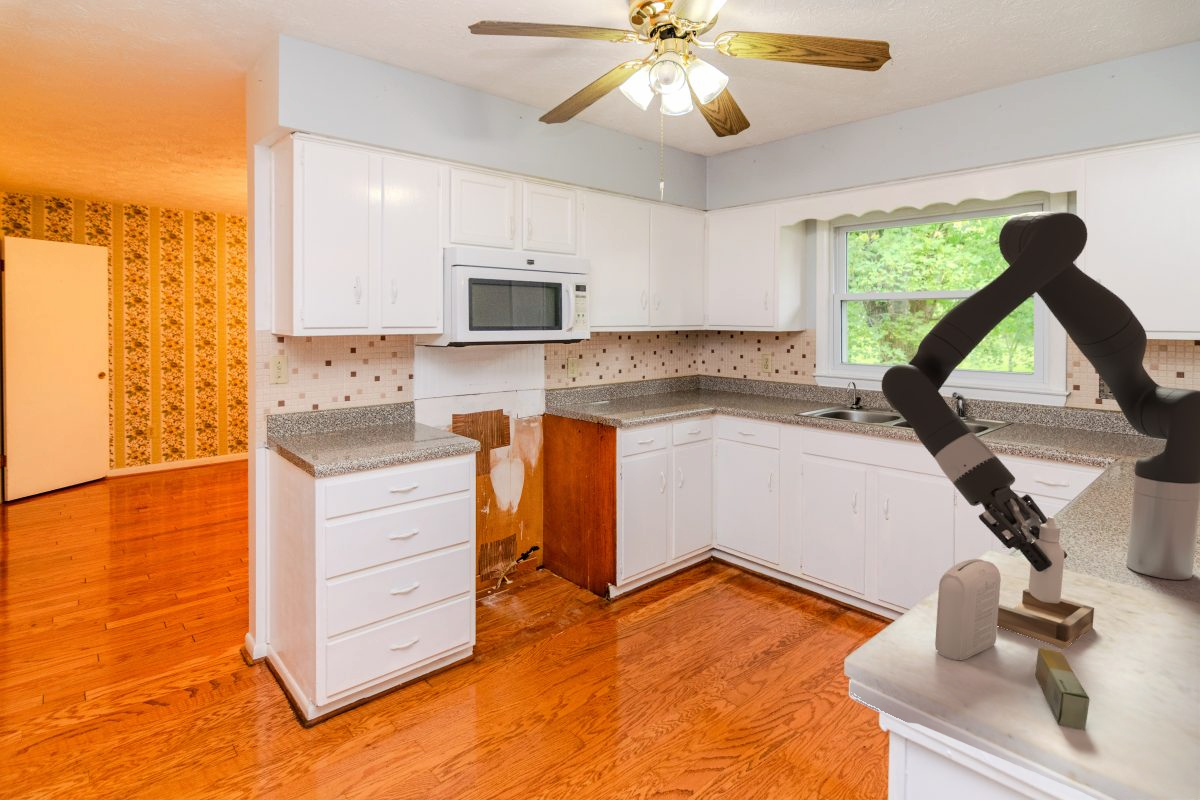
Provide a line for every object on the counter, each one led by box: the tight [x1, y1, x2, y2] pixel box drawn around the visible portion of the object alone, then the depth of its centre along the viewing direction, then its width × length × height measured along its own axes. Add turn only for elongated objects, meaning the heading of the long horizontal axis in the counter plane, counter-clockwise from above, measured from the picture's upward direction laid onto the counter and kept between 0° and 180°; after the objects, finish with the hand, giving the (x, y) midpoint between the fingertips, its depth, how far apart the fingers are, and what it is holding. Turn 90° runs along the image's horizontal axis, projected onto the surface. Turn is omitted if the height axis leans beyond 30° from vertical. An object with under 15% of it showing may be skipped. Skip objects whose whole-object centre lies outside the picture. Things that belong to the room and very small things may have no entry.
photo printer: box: [934, 558, 1002, 661], centre depth 91 cm, size 10×4×12 cm, turn 123°
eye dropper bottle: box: [1028, 516, 1065, 603], centre depth 98 cm, size 4×6×12 cm
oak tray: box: [997, 588, 1095, 650], centre depth 99 cm, size 11×9×3 cm
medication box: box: [1034, 647, 1091, 731], centre depth 79 cm, size 12×3×4 cm, turn 158°
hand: (1053, 563), depth 97 cm, fingers closed on eye dropper bottle, 5 cm apart
